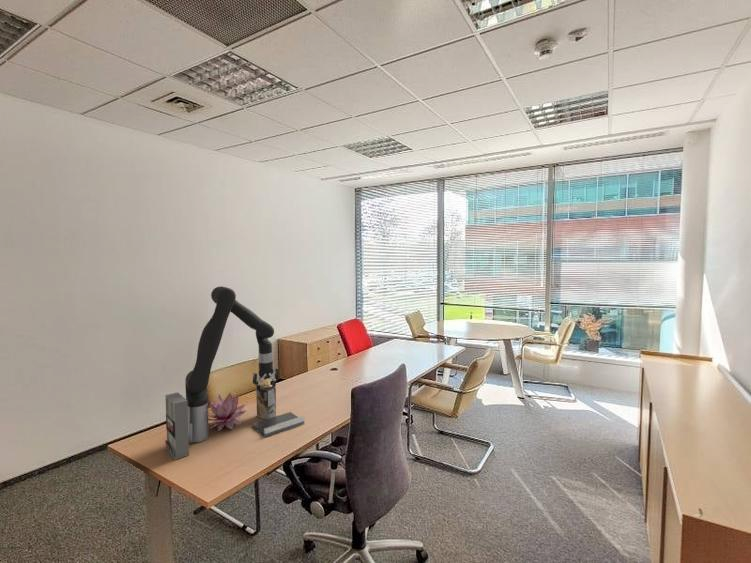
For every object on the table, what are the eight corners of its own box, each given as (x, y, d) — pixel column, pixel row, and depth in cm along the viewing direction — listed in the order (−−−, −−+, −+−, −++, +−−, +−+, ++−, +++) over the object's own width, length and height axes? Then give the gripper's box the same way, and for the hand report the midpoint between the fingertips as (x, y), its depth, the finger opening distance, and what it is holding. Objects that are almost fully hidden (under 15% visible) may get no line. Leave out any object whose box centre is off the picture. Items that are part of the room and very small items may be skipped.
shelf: (265, 437, 179) (265, 429, 179) (252, 426, 190) (252, 418, 190) (304, 423, 194) (304, 416, 193) (290, 414, 205) (290, 407, 205)
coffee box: (276, 415, 203) (276, 387, 202) (268, 420, 198) (268, 391, 197) (264, 412, 208) (264, 384, 207) (256, 416, 202) (255, 388, 201)
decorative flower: (254, 420, 198) (254, 392, 197) (228, 438, 177) (228, 407, 177) (221, 415, 204) (221, 388, 203) (192, 432, 183) (191, 402, 183)
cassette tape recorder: (165, 448, 168) (163, 395, 166) (179, 444, 172) (177, 392, 170) (174, 460, 158) (172, 404, 156) (189, 455, 162) (187, 400, 161)
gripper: (255, 364, 193) (256, 394, 194) (280, 359, 203) (281, 388, 204) (250, 361, 199) (251, 390, 200) (274, 356, 208) (275, 384, 209)
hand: (266, 389), depth 202 cm, fingers open, 8 cm apart
